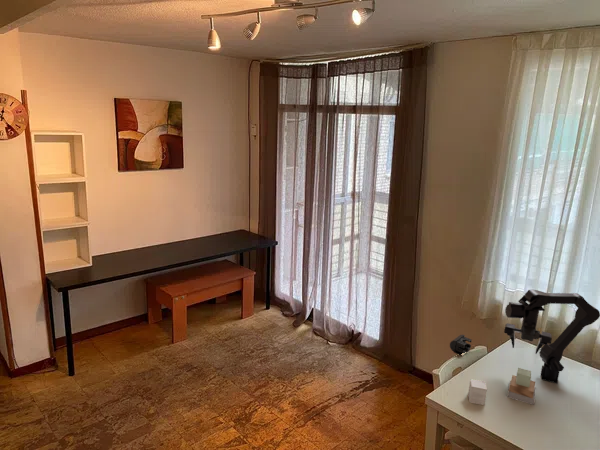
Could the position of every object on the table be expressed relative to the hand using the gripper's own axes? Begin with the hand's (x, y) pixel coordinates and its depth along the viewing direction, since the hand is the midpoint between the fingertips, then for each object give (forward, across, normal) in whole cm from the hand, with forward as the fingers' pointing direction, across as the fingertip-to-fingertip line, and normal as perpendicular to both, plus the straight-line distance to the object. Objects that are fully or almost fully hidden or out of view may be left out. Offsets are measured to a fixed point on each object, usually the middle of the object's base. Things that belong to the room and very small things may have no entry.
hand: (524, 350), depth 202 cm
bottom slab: (+14, +1, -16) cm, 21 cm away
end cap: (+13, -28, +10) cm, 33 cm away
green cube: (+8, +1, -15) cm, 17 cm away
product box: (+13, -15, -30) cm, 36 cm away
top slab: (+11, +1, -16) cm, 19 cm away
